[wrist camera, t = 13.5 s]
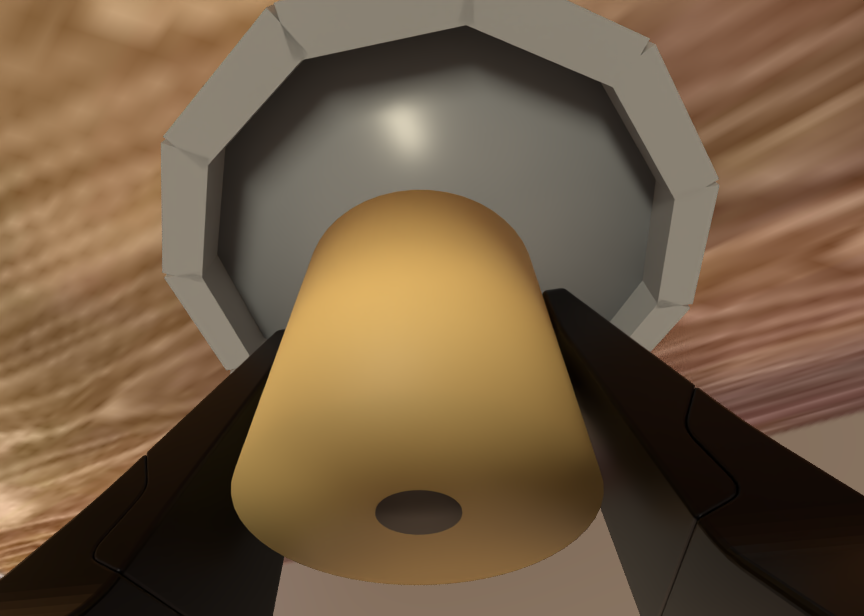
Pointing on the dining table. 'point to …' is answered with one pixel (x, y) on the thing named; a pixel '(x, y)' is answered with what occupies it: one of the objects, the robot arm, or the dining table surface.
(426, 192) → the ochre bead
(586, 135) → the round tray
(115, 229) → the dining table surface
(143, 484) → the robot arm
